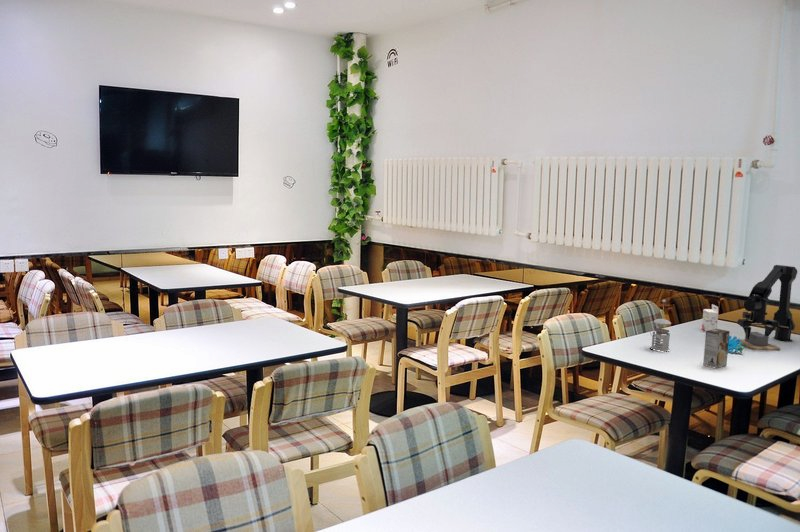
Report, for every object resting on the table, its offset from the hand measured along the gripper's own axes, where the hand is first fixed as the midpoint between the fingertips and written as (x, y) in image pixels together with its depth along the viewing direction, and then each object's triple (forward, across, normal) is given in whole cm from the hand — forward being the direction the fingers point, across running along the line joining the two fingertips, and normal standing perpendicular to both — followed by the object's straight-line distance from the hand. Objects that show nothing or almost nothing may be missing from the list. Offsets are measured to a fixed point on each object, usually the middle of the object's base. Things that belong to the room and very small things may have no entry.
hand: (756, 339), depth 333 cm
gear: (+4, +20, +14) cm, 25 cm away
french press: (+3, +55, +10) cm, 56 cm away
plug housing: (+2, 0, 0) cm, 2 cm away
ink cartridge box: (+3, +9, -30) cm, 31 cm away
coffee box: (+3, +41, +37) cm, 55 cm away
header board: (+3, 0, 0) cm, 3 cm away
